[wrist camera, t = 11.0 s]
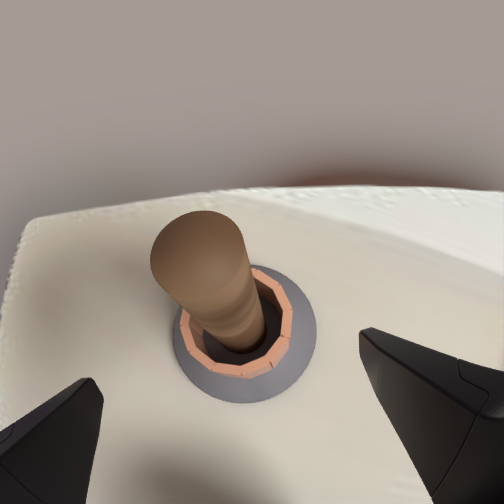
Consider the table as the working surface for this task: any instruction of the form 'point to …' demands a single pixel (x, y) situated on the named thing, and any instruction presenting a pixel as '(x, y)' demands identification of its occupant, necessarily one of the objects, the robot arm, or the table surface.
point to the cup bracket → (260, 361)
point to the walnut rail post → (211, 278)
